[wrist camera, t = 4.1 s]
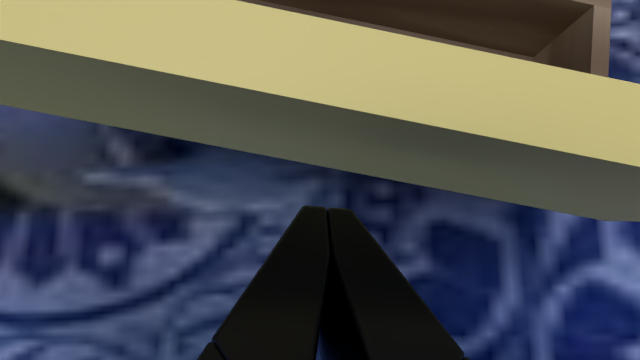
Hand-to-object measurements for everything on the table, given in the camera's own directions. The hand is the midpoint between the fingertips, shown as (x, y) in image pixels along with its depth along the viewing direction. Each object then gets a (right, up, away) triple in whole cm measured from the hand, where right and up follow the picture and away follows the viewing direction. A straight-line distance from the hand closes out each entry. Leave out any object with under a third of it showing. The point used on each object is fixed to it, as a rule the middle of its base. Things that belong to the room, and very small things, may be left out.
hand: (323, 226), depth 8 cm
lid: (0, +3, +2) cm, 3 cm away
